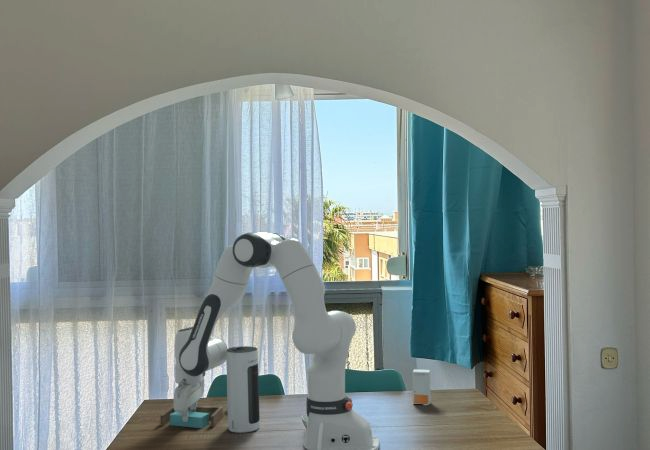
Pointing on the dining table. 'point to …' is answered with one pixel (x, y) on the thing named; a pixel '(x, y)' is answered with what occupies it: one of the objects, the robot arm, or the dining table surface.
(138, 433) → the dining table surface
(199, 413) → the turquoise rectangular block
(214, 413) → the walnut box
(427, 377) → the skincare box
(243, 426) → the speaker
